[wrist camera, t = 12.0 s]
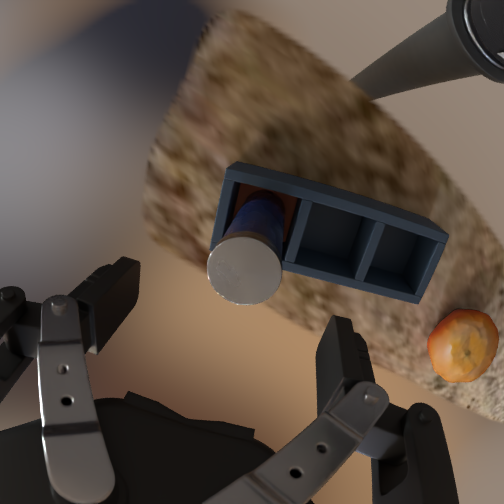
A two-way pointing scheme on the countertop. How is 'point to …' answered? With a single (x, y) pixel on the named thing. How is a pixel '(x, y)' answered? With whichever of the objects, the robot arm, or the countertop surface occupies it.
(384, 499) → the robot arm
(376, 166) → the countertop surface
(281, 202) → the thermos
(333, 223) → the rack
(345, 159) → the countertop surface
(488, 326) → the fruit
